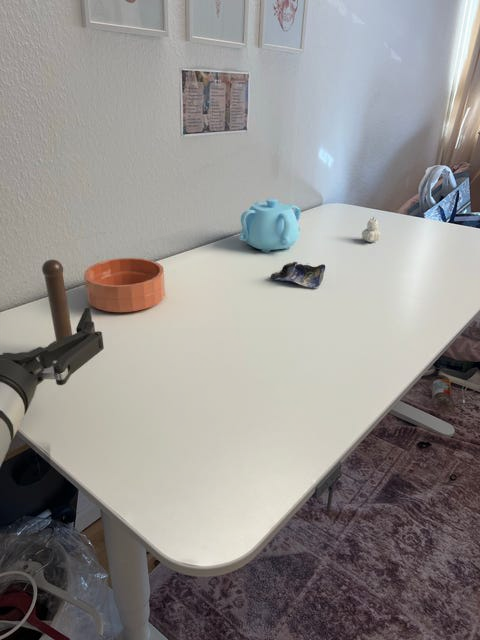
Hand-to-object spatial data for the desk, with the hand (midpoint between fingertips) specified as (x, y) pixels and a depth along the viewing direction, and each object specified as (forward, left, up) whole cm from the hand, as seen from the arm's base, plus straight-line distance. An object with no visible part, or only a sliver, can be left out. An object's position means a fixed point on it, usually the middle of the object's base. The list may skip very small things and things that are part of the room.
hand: (42, 316), depth 72 cm
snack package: (+38, +48, -12) cm, 63 cm away
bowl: (+1, +32, -12) cm, 34 cm away
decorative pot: (+30, +74, -12) cm, 81 cm away
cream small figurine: (+60, +83, -12) cm, 104 cm away
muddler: (-2, +8, -12) cm, 14 cm away
